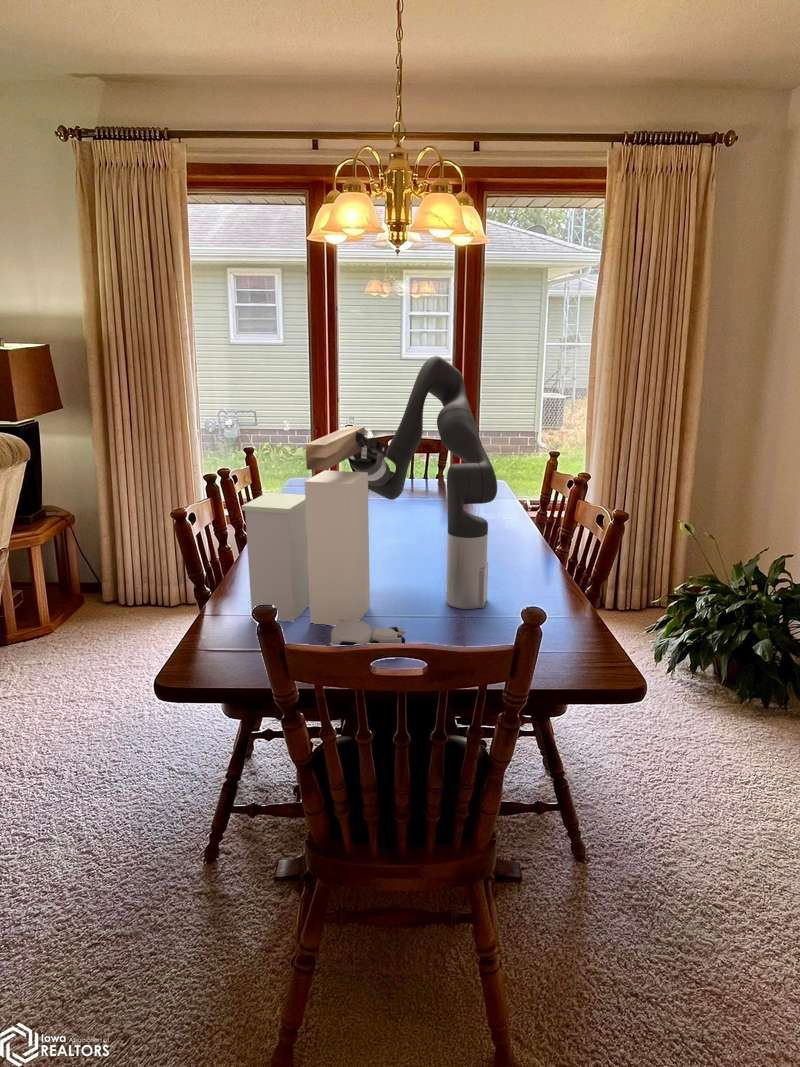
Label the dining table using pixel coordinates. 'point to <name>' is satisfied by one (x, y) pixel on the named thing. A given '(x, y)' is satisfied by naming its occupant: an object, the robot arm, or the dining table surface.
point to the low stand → (278, 553)
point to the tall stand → (337, 546)
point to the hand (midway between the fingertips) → (347, 435)
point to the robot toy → (364, 634)
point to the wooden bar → (333, 448)
